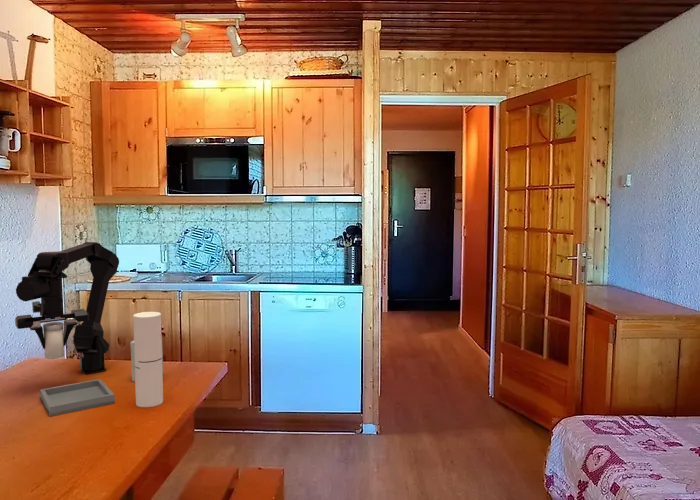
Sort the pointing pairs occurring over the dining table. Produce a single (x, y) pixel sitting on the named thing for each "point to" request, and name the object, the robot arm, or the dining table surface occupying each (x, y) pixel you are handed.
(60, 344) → the shaker
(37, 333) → the robot arm
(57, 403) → the tray
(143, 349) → the cylindrical container
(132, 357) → the supplement box
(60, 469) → the dining table surface
